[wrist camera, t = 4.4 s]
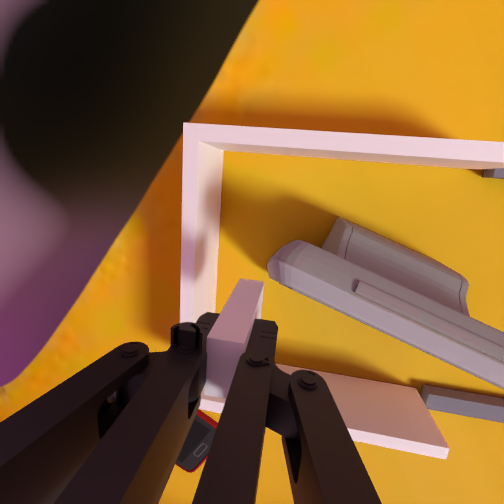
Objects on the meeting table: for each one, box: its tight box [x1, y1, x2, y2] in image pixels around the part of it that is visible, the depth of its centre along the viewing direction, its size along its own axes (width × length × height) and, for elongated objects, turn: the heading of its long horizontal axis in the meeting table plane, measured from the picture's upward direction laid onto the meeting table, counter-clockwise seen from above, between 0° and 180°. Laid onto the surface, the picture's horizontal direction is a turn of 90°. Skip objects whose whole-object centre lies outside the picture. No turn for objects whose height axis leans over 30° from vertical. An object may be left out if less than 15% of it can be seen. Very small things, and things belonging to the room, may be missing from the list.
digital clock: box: [267, 217, 504, 389], centre depth 19 cm, size 16×9×11 cm, turn 55°
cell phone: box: [107, 393, 218, 473], centre depth 31 cm, size 8×15×1 cm, turn 56°
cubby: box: [180, 123, 504, 459], centre depth 21 cm, size 20×21×6 cm
